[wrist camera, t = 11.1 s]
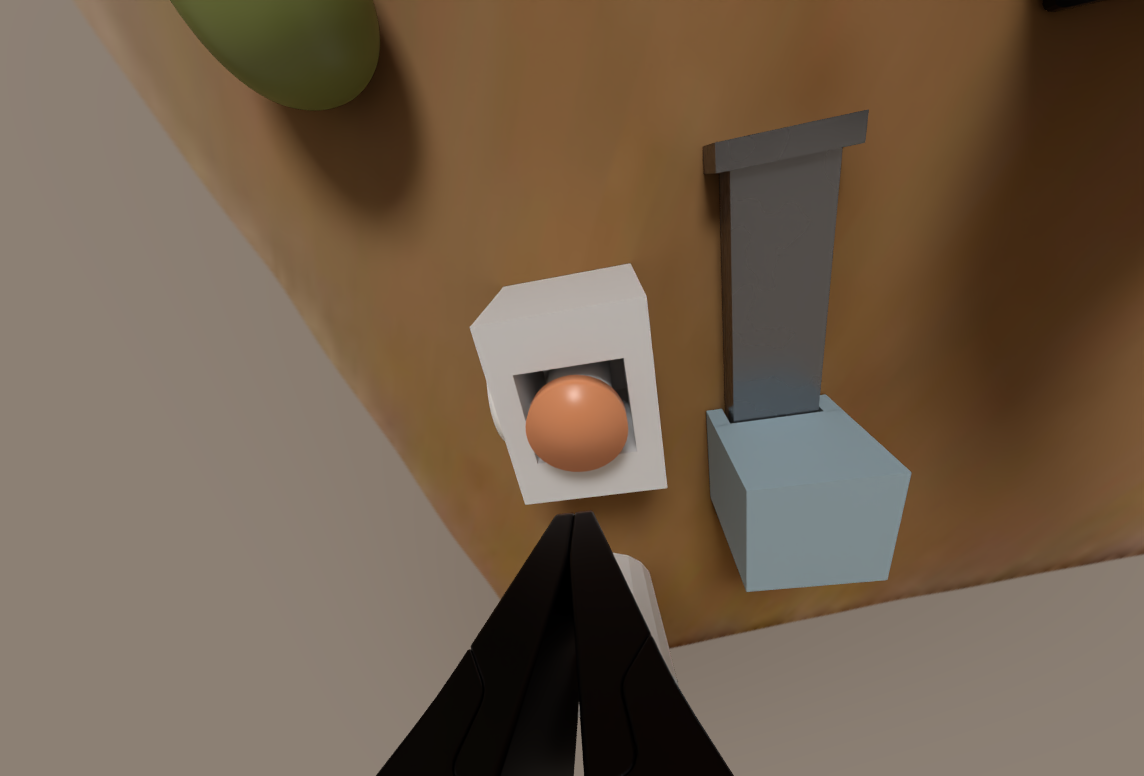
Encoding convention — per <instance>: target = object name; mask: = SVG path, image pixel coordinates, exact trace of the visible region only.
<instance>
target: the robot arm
mask: <svg viewBox="0 0 1144 776" xmlns="http://www.w3.org/2000/svg"><path fill="white" fill-rule="evenodd" d="M1100 1H1104V0H1043V3H1042V4H1043V7H1044V9H1045V10H1047V11H1048V12H1056V11H1061V10H1065V9H1069V8H1074V7H1078V6H1082V5H1087V4H1091V3H1095V2H1100ZM579 708H580V721H581V736H582V750H583V765H584V776H734V775H733V774H732V772H731V771H730V769H729V768H728V766H727V764H726V763H725V761H724V760H723V758H722V757H721V755H720V753H719V752H718V750H717V749H716V747H715V745H714V744H713V743H712V741H711V739H710V738H709V736H708V734H707V733H706V731H705V730H704V728H703V727H702V725H701V724H700V722H699V721H698V719H697V717H696V716H695V714H694V712H693V711H692V709H691V708H690V706H689V704H688V702H687V701H686V699H685V697H684V696H683V694H682V693H681V691H680V689H679V687H678V685H677V684H676V682H675V680H674V678H673V676H672V674H671V672H670V670H669V669H668V667H667V665H666V663H665V661H664V659H663V657H662V655H661V653H660V651H659V649H658V647H657V644H656V642H655V640H654V638H653V637H652V636H651V632H650V630H649V628H648V626H647V624H646V622H645V620H644V618H643V615H642V613H641V611H640V609H639V607H638V605H637V603H636V601H635V599H634V597H633V594H632V592H631V590H630V588H629V586H628V584H627V582H626V580H625V578H624V576H623V573H622V571H621V569H620V567H619V565H618V563H617V561H616V559H615V557H614V555H613V553H612V550H611V548H610V546H609V544H608V542H607V540H606V538H605V536H604V534H603V532H602V529H601V527H600V525H599V523H598V521H597V519H596V517H595V515H594V513H593V512H592V511H582V512H576V513H575V515H574V514H573V513H564V514H558V515H556V516H555V517H554V519H553V520H552V522H551V523H550V525H549V526H548V528H547V529H546V531H545V532H544V534H543V536H542V537H541V539H540V540H539V542H538V543H537V545H536V546H535V548H534V549H533V551H532V552H531V554H530V556H529V557H528V559H527V560H526V562H525V563H524V565H523V566H522V568H521V569H520V571H519V572H518V574H517V576H516V577H515V579H514V580H513V582H512V583H511V585H510V586H509V588H508V589H507V591H506V592H505V594H504V596H503V597H502V599H501V600H500V602H499V603H498V605H497V606H496V608H495V609H494V611H493V612H492V614H491V616H490V617H489V619H488V620H487V622H486V623H485V625H484V627H483V628H482V629H481V631H480V632H479V634H478V636H477V637H476V639H475V640H474V642H473V643H472V645H471V650H468V651H467V652H466V654H465V655H464V657H463V659H462V660H461V662H460V663H459V664H458V666H457V668H456V669H455V670H454V672H453V673H452V675H451V676H450V678H449V679H448V681H447V682H446V684H445V685H444V687H443V688H442V689H441V691H440V692H439V694H438V695H437V697H436V698H435V699H434V701H433V702H432V703H431V705H430V706H429V707H428V709H427V710H426V711H425V713H424V714H423V715H422V717H421V718H420V720H419V721H418V722H417V723H416V725H415V726H414V727H413V729H412V730H411V731H410V733H409V734H408V735H407V736H406V738H405V739H404V740H403V742H402V743H401V744H400V745H399V747H398V748H397V749H396V751H395V752H394V753H393V755H392V756H391V757H390V758H389V760H388V761H387V762H386V763H385V765H384V766H383V767H382V769H381V770H380V771H379V773H378V774H377V775H376V776H574V764H575V751H576V736H577V723H578V709H579Z"/></svg>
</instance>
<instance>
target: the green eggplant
mask: <svg viewBox="0 0 1144 776" xmlns="http://www.w3.org/2000/svg"><path fill="white" fill-rule="evenodd" d="M170 1H171V3H172V4H173V6H174V7H175V8H176V10H177V11H178V13H179V14H180V15H181V17H182V18H183V20H184V21H185V22H186V24H187V25H188V26H189V28H190V29H191V30H192V31H193V33H194V34H195V35H196V36H197V38H198V39H199V40H200V41H201V42H202V44H203V45H204V46H205V47H206V48H207V49H208V50H209V52H210V53H211V54H212V55H213V56H214V57H215V58H216V59H217V60H218V61H219V62H220V63H221V64H222V65H223V66H224V67H225V68H226V69H227V70H228V71H229V72H231V73H232V74H233V75H234V76H235V77H236V78H238V79H239V80H240V81H241V82H243V83H244V84H245V85H247V86H248V87H249V88H251V89H252V90H254V91H255V92H257V93H259V94H260V95H262V96H264V97H266V98H267V99H269V100H272V101H274V102H276V103H278V104H281V105H284V106H287V107H291V108H295V109H300V110H312V111H315V110H326V109H331V108H335V107H338V106H341V105H343V104H346V103H347V102H349V101H351V100H352V99H354V98H355V97H356V96H358V95H359V94H360V93H361V92H362V91H363V90H364V88H365V87H366V86H367V85H368V83H369V81H370V80H371V78H372V76H373V74H374V72H375V69H376V66H377V63H378V58H379V52H380V31H379V23H378V18H377V13H376V9H375V6H374V2H373V0H170Z"/></svg>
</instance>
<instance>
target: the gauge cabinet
mask: <svg viewBox="0 0 1144 776" xmlns="http://www.w3.org/2000/svg"><path fill="white" fill-rule="evenodd" d="M470 330H471V333H472V336H473V340H474V343H475V346H476V349H477V352H478V356H479V359H480V362H481V365H482V368H483V371H484V375H485V378H486V381H487V391H488V399H489V405H490V410H491V414H492V418H493V421H494V424H495V427H496V429H497V431H498V433H499V435H500V436H501V438H502V439H503V440H504V441H505V442H506V445H507V448H508V451H509V454H510V458H511V461H512V464H513V467H514V470H515V474H516V477H517V480H518V483H519V486H520V489H521V493H522V496H523V499H524V502H525V505H527V504H536V503H544V502H553V501H561V500H570V499H578V498H587V497H595V496H604V495H612V494H621V493H629V492H638V491H647V490H655V489H664V488H667V480H666V471H665V461H664V452H663V443H662V434H661V425H660V416H659V406H658V397H657V388H656V379H655V370H654V361H653V351H652V342H651V333H650V324H649V315H648V305H647V296H646V294H645V292H644V290H643V288H642V286H641V284H640V282H639V280H638V278H637V276H636V274H635V272H634V270H633V268H632V266H631V263H630V264H624V265H619V266H614V267H608V268H603V269H597V270H592V271H587V272H581V273H576V274H570V275H565V276H560V277H554V278H549V279H543V280H538V281H533V282H527V283H522V284H516V285H511V286H506V287H503V288H502V289H501V290H500V292H499V293H498V294H497V295H496V296H495V298H494V299H493V300H492V301H491V302H490V304H489V305H488V306H487V307H486V308H485V310H484V311H483V312H482V313H481V314H480V316H479V317H478V318H477V319H476V320H475V322H474V323H473V324H472V325H471V326H470ZM607 360H610V369H611V379H612V388H613V389H614V390H615V391H616V392H617V393H618V395H619V396H620V398H621V399H622V401H623V403H624V406H625V410H626V415H627V422H628V436H627V441H626V443H625V446H624V447H623V449H622V451H621V452H620V453H619V455H618V456H617V457H616V458H615V459H614V460H612V461H611V462H610V463H608V464H606V465H605V466H603V467H600V468H598V469H595V470H591V471H585V472H571V471H565V470H561V469H558V468H555V467H553V466H551V465H549V464H547V463H546V462H544V461H543V460H542V459H541V458H539V457H538V456H537V455H536V453H535V452H534V451H533V449H532V448H531V446H530V444H529V442H528V439H527V436H526V427H525V426H526V419H527V415H528V412H529V408H530V404H531V402H532V400H533V398H534V396H535V395H536V393H537V392H538V391H539V390H540V389H541V388H542V387H543V386H544V385H546V382H547V378H548V373H549V370H550V369H557V368H563V367H569V366H576V365H582V364H588V363H595V362H601V361H607Z"/></svg>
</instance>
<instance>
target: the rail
mask: <svg viewBox="0 0 1144 776" xmlns="http://www.w3.org/2000/svg"><path fill="white" fill-rule="evenodd" d="M868 112H869V110H864V111H860V112H855V113H850V114H846V115H841V116H836V117H832V118H827V119H822V120H818V121H813V122H809V123H804V124H799V125H795V126H790V127H785V128H781V129H776V130H771V131H767V132H762V133H758V134H753V135H748V136H744V137H739V138H734V139H730V140H725V141H721V142H716V143H712V144H709V145H706V146H703V164H704V174H714V173H719V196H720V235H721V273H722V311H723V350H724V388H725V415H726V417H727V419H728V421H729V422H730V424H732V423H740V422H747V421H755V420H762V419H770V418H777V417H785V416H792V415H800V414H807V413H815V412H818V411H819V400H820V389H821V378H822V367H823V356H824V345H825V334H826V323H827V312H828V302H829V291H830V280H831V269H832V258H833V247H834V236H835V225H836V214H837V203H838V192H839V181H840V170H841V159H842V148H843V147H846V146H851V145H856V144H860V143H865V139H866V130H867V121H868ZM720 524H721V523H720ZM723 532H724V531H723Z"/></svg>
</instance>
